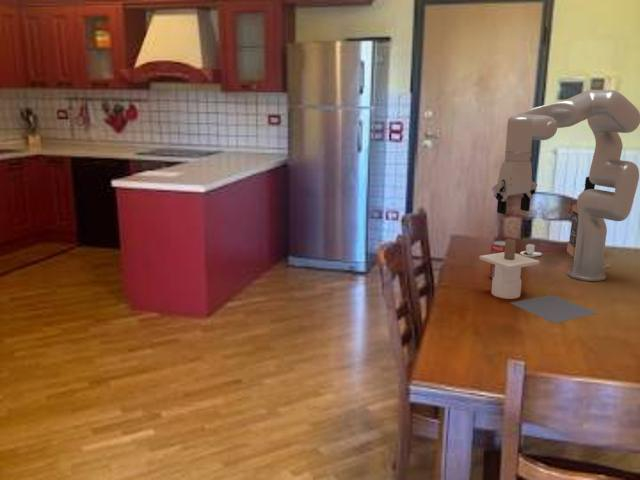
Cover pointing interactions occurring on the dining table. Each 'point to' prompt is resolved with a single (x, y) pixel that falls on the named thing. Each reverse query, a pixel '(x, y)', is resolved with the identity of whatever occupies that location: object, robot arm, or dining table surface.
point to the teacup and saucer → (531, 251)
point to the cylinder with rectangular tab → (506, 283)
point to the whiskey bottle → (576, 222)
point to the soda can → (496, 248)
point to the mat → (553, 308)
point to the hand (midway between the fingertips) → (513, 211)
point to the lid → (509, 257)
